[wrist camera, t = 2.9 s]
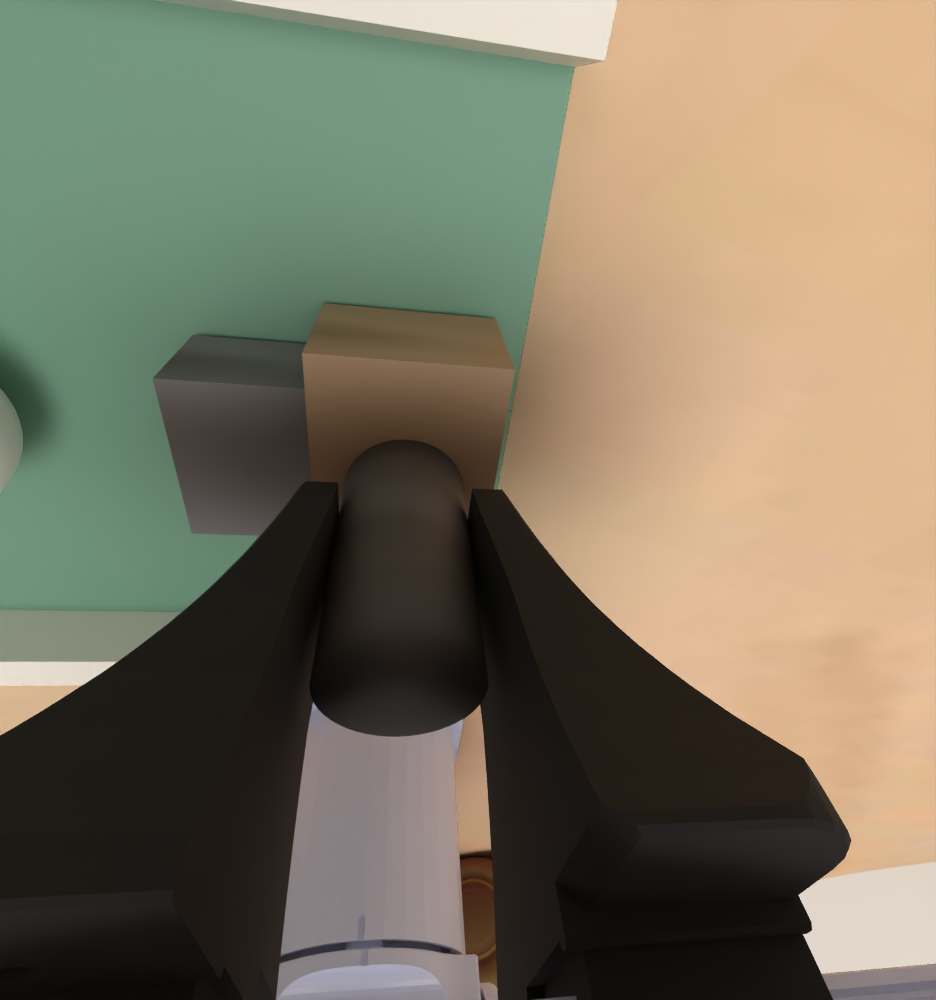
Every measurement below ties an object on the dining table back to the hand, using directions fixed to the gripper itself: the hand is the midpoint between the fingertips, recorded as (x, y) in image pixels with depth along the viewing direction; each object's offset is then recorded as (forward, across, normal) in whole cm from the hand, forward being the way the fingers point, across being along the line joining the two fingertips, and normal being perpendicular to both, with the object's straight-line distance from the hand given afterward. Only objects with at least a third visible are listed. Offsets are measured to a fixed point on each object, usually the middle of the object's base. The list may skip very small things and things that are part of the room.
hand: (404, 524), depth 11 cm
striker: (+4, +1, 0) cm, 4 cm away
